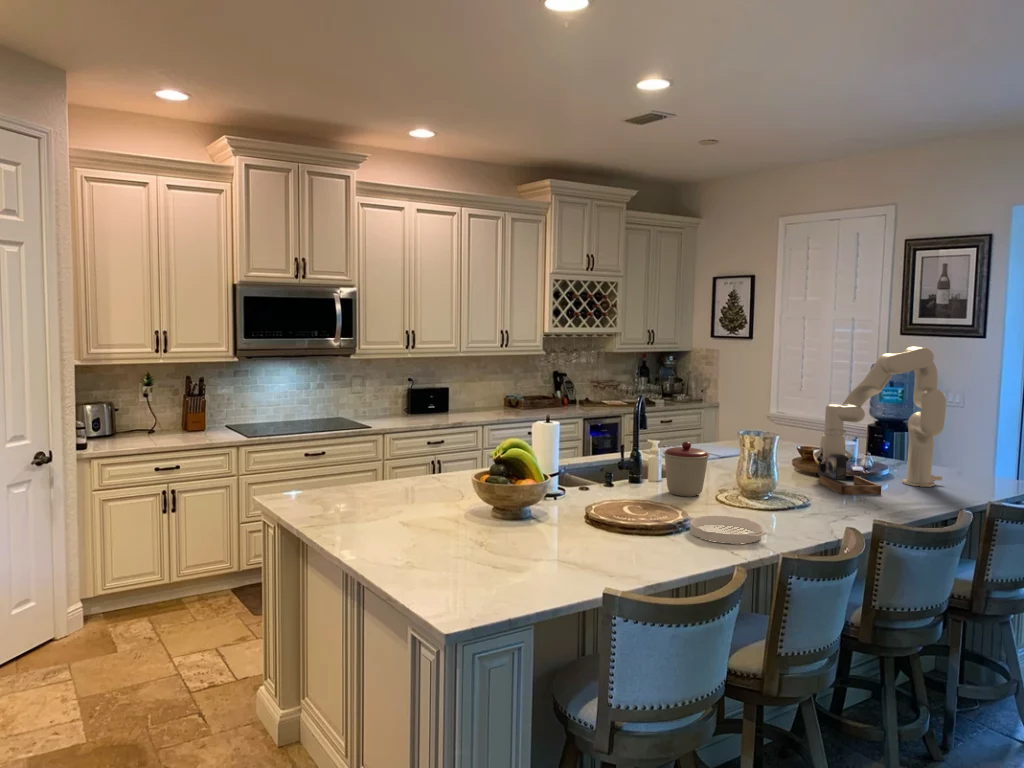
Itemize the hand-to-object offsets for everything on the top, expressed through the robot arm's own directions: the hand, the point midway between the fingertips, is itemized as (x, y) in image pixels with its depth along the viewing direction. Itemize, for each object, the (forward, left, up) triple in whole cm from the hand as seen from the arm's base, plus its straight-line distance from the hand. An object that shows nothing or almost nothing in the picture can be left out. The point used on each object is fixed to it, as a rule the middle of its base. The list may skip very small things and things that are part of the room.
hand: (831, 472), depth 341 cm
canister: (+73, +26, -4) cm, 78 cm away
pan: (+81, +79, -4) cm, 113 cm away
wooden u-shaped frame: (0, +16, -4) cm, 17 cm away
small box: (0, 0, -3) cm, 3 cm away
